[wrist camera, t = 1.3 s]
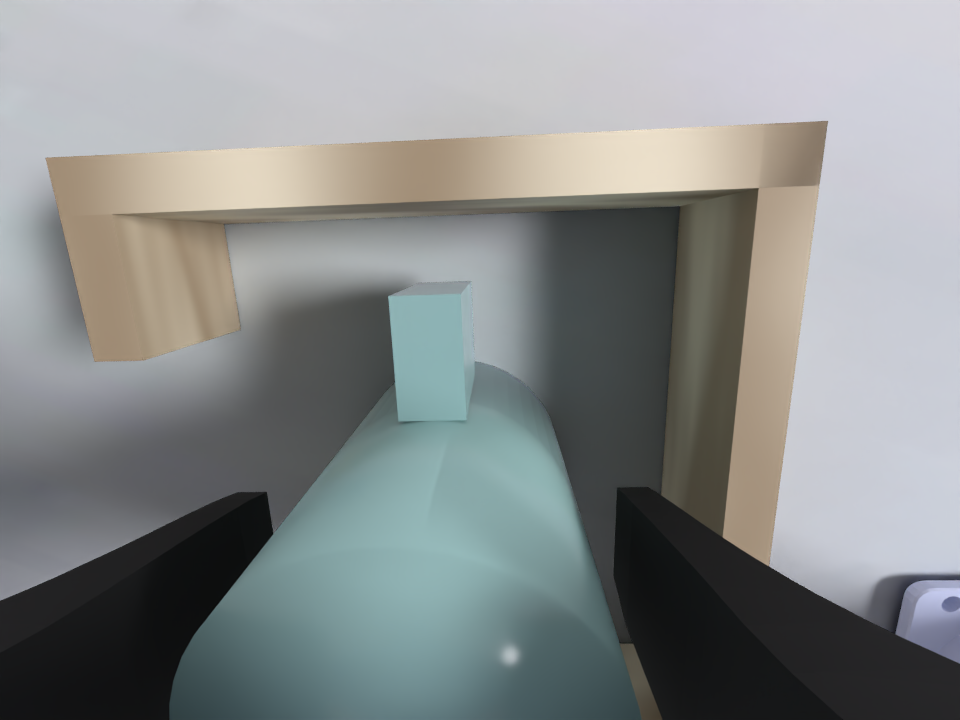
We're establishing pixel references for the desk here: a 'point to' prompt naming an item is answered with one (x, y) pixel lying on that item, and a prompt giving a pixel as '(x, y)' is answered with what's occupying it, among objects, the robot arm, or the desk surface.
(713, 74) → the desk surface
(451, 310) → the teal cylinder with tab
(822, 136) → the cradle
